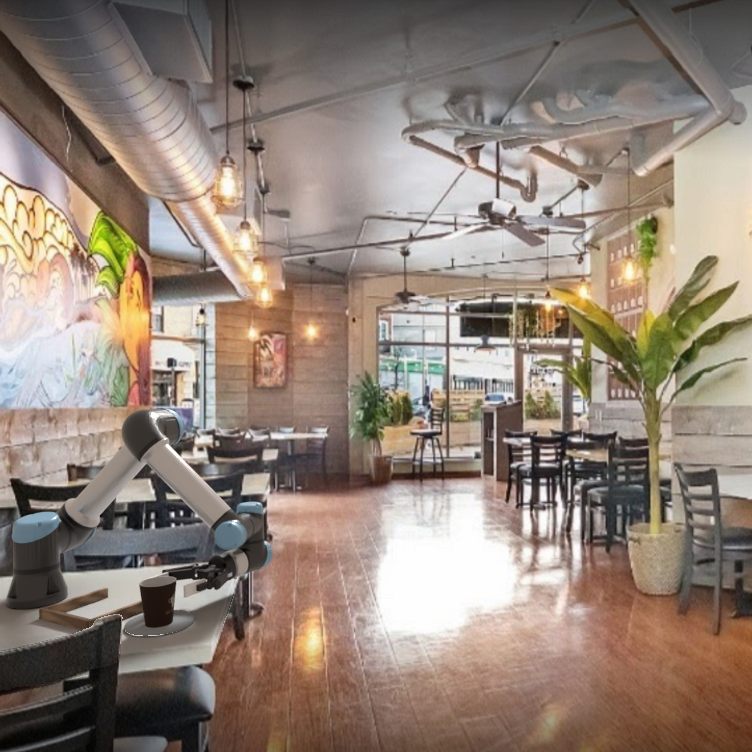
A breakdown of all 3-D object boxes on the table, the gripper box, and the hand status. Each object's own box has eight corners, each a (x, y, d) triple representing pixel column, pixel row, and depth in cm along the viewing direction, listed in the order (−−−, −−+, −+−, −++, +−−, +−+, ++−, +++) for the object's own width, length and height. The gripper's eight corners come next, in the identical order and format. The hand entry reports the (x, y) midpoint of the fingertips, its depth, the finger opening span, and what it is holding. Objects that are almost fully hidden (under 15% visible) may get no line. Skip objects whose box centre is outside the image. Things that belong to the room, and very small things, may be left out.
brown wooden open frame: (105, 596, 179) (105, 587, 179) (154, 607, 169) (154, 597, 169) (39, 618, 163) (39, 608, 163) (89, 631, 152) (89, 621, 152)
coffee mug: (159, 631, 149) (158, 588, 149) (132, 626, 153) (131, 584, 153) (193, 614, 159) (192, 574, 160) (167, 610, 163) (166, 571, 163)
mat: (129, 617, 162) (129, 614, 162) (194, 610, 165) (194, 606, 165) (119, 640, 146) (119, 637, 146) (192, 632, 150) (192, 628, 150)
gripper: (262, 585, 169) (201, 610, 151) (195, 574, 182) (132, 596, 164) (261, 557, 169) (200, 578, 151) (194, 547, 182) (131, 567, 164)
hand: (165, 588), depth 157 cm, fingers open, 13 cm apart
